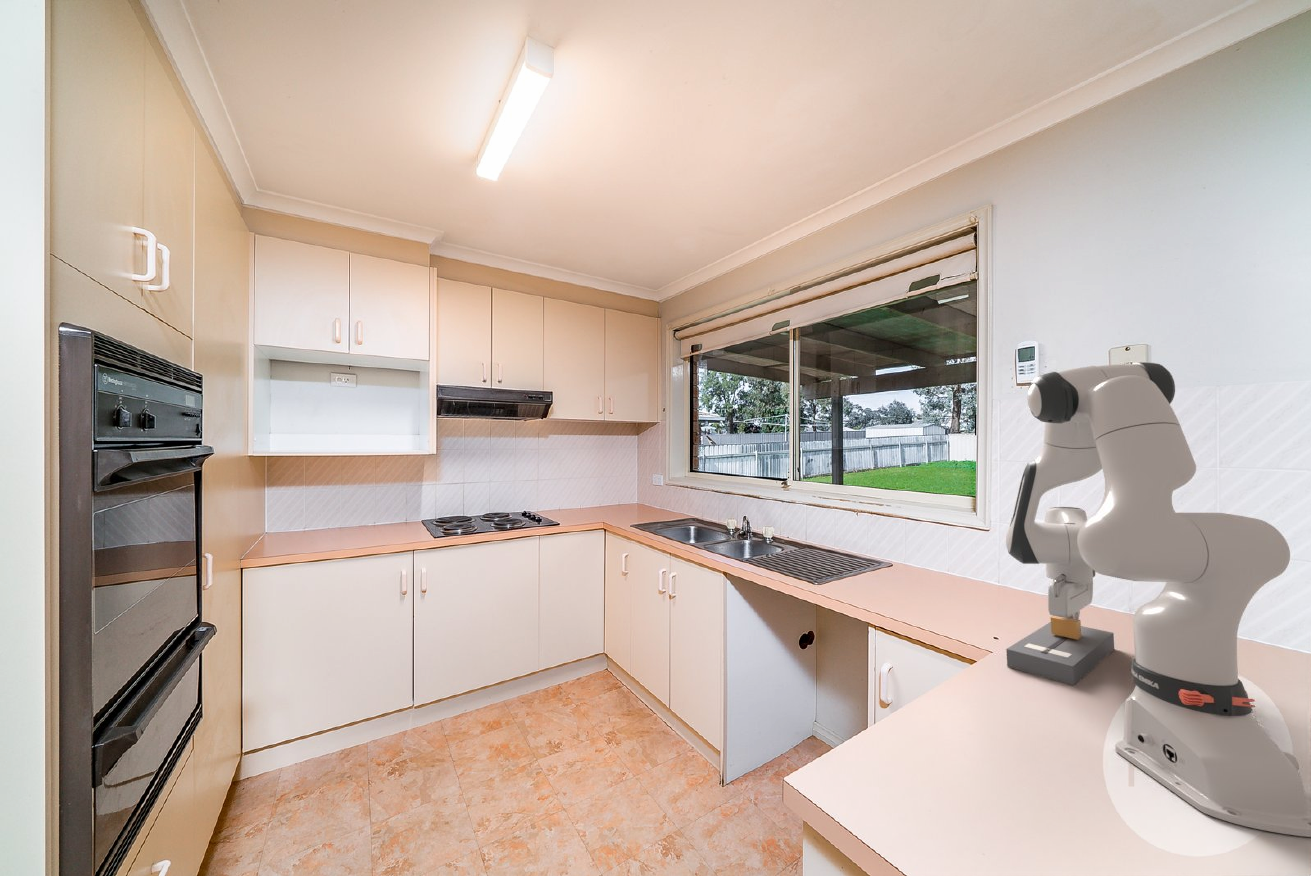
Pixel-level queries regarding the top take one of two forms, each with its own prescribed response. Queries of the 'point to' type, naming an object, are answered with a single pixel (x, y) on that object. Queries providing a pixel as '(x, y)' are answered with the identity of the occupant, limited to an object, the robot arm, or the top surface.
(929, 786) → the top surface
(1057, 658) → the fader console
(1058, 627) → the fader knob
